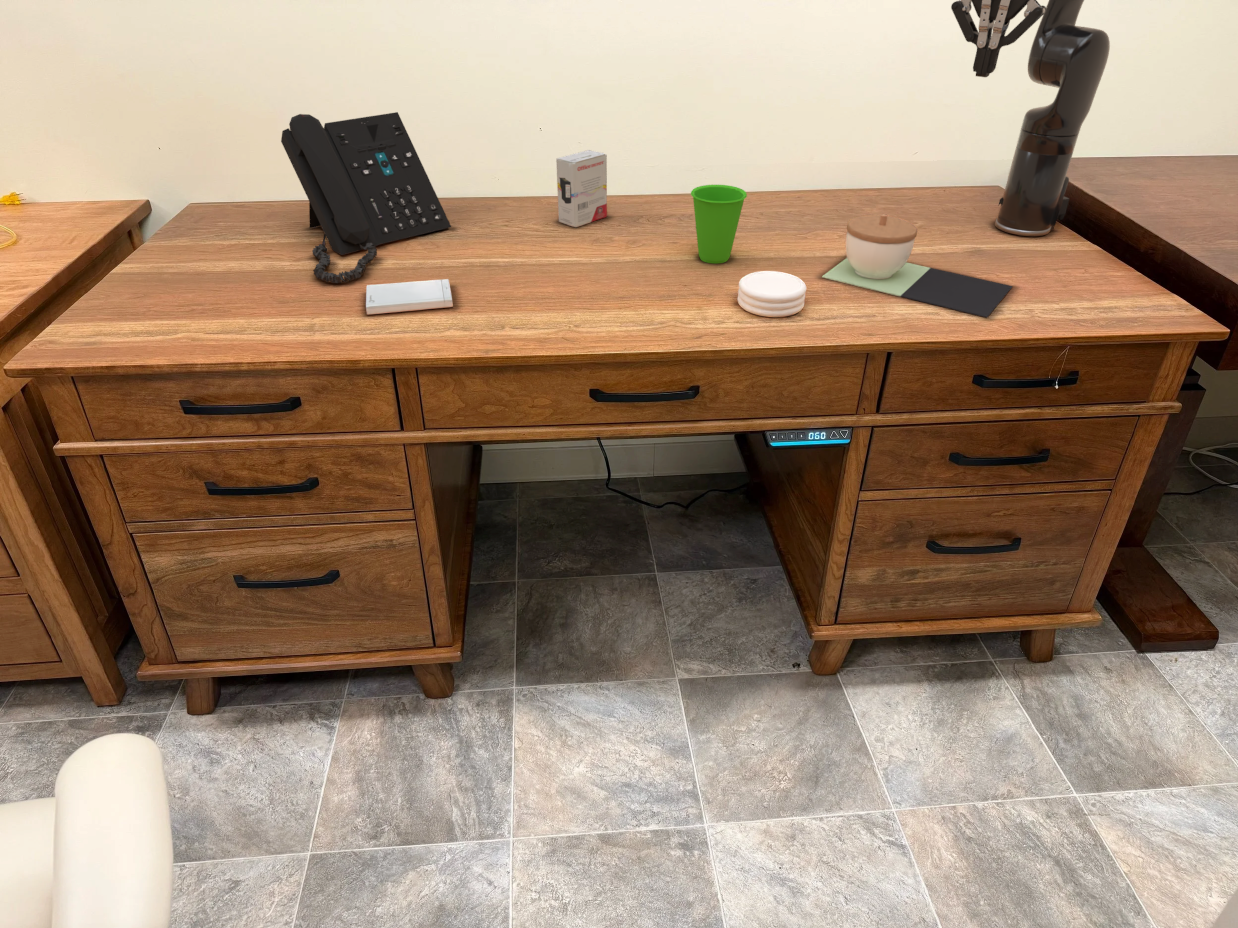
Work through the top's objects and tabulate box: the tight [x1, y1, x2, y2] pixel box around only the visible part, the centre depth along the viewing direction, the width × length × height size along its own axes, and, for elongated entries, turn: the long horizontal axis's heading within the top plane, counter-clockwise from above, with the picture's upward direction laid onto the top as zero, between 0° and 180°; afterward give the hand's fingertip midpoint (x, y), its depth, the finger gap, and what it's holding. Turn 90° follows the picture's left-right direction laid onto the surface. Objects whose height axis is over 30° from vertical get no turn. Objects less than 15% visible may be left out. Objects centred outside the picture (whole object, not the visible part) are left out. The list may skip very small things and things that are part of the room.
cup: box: [690, 184, 748, 264], centre depth 138 cm, size 9×9×11 cm
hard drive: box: [365, 278, 454, 316], centre depth 126 cm, size 2×8×12 cm
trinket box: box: [844, 213, 918, 279], centre depth 133 cm, size 11×11×9 cm
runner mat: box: [821, 257, 1013, 319], centre depth 133 cm, size 26×14×1 cm, turn 55°
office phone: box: [280, 111, 452, 284], centre depth 141 cm, size 29×28×20 cm
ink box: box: [555, 149, 608, 228], centre depth 154 cm, size 9×5×12 cm, turn 136°
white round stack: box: [736, 270, 807, 318], centre depth 125 cm, size 10×10×4 cm
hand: (982, 76), depth 122 cm, fingers closed
